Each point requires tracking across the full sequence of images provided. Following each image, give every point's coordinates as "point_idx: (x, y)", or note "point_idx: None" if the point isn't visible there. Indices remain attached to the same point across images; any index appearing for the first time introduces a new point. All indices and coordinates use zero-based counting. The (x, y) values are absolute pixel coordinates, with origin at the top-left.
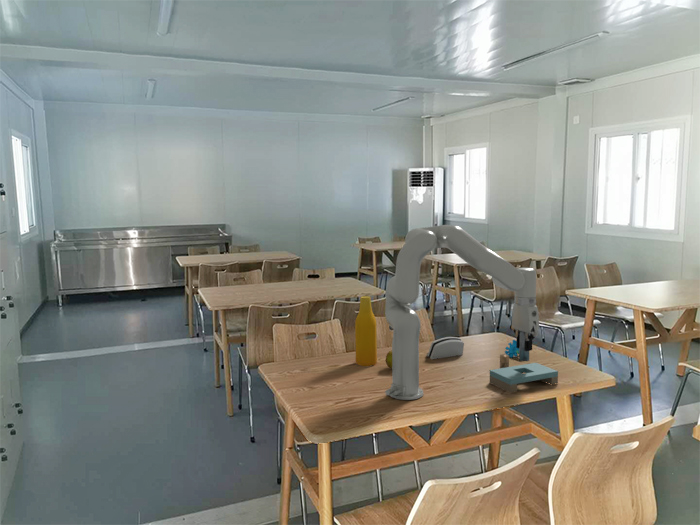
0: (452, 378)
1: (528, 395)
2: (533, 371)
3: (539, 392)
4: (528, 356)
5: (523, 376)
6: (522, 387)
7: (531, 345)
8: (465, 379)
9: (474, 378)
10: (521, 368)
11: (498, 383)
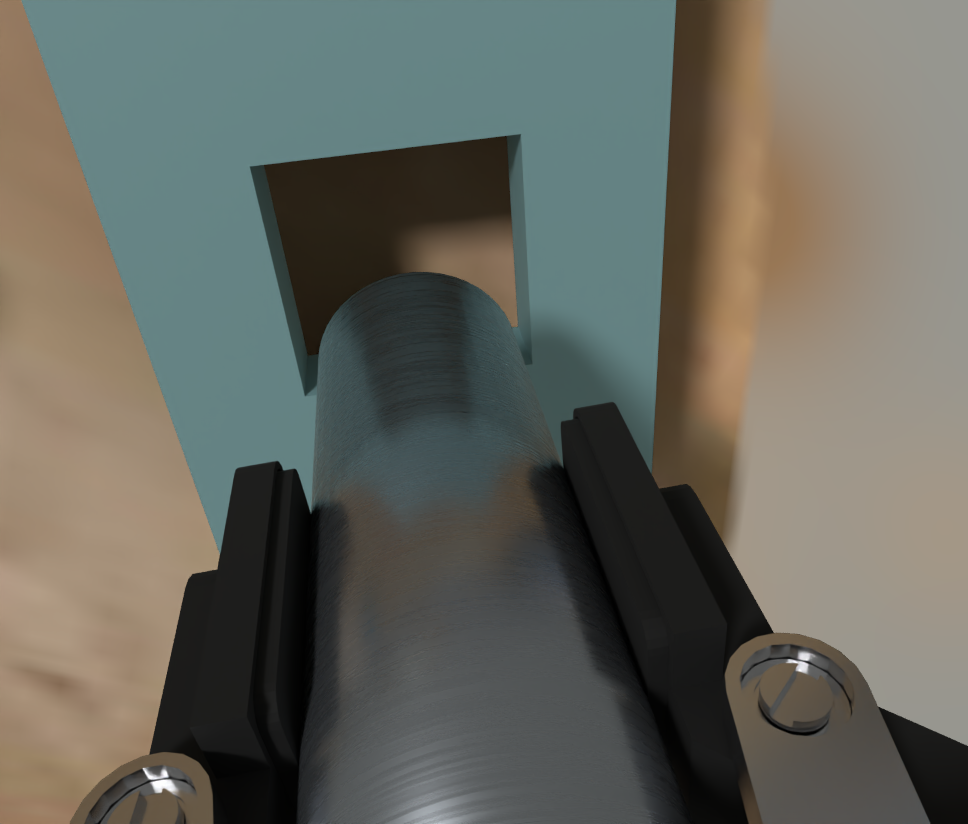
0: (57, 746)
1: (741, 358)
2: (488, 137)
3: (737, 198)
4: (527, 372)
5: (631, 410)
6: (514, 288)
7: (718, 549)
8: (105, 672)
9: (83, 600)
10: (265, 232)
11: None
